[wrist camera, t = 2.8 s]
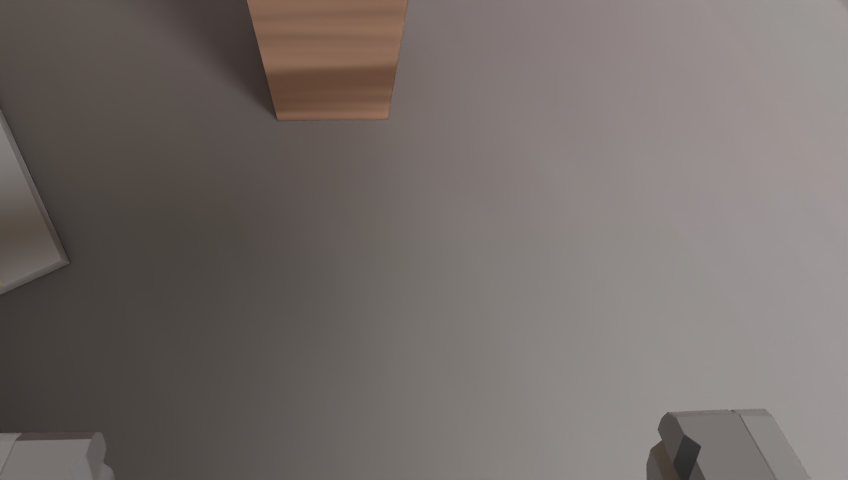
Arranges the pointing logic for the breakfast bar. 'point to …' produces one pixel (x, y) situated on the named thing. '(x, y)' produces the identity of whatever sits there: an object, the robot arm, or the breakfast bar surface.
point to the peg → (329, 56)
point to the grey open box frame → (23, 221)
